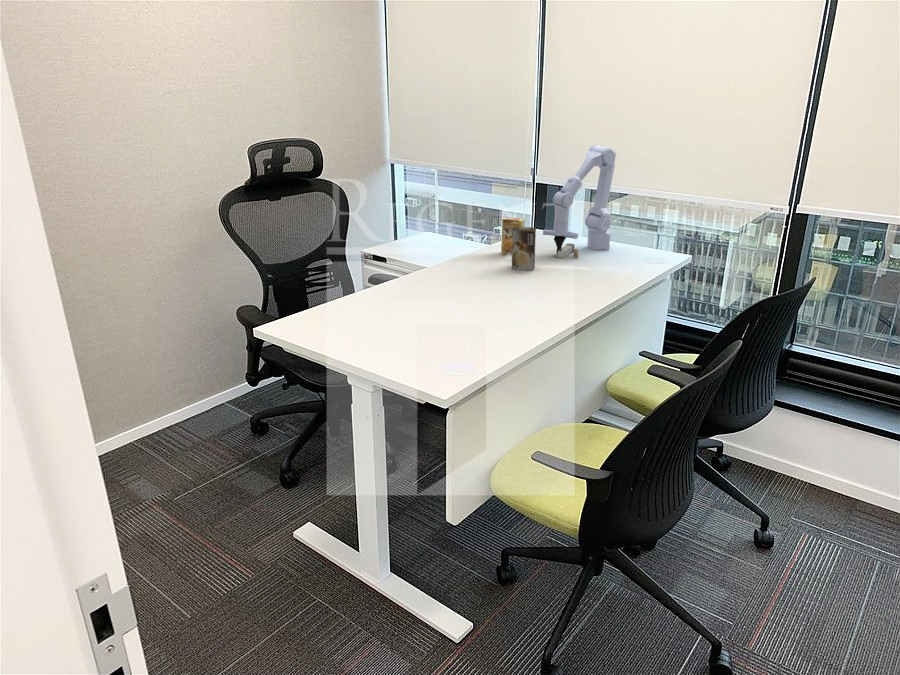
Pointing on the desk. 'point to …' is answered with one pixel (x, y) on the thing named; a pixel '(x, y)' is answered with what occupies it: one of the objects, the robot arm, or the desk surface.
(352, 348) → the desk surface
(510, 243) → the candy box
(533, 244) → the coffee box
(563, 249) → the bar
